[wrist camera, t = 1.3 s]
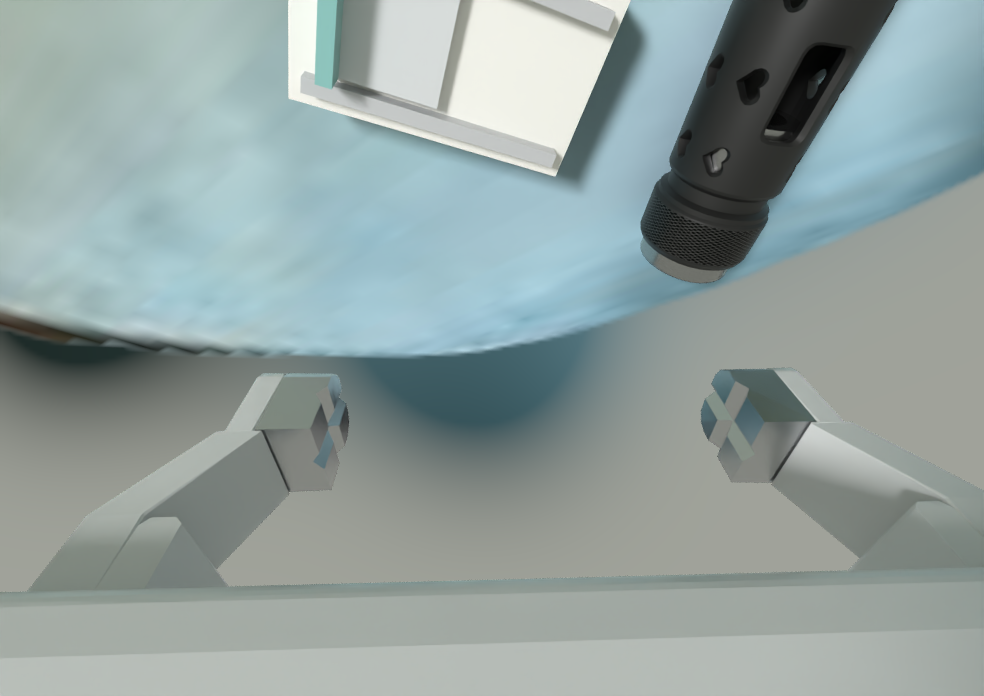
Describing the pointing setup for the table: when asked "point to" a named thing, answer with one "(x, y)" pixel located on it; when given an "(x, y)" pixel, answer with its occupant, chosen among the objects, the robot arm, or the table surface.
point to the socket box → (485, 78)
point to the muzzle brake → (752, 127)
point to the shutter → (386, 45)
